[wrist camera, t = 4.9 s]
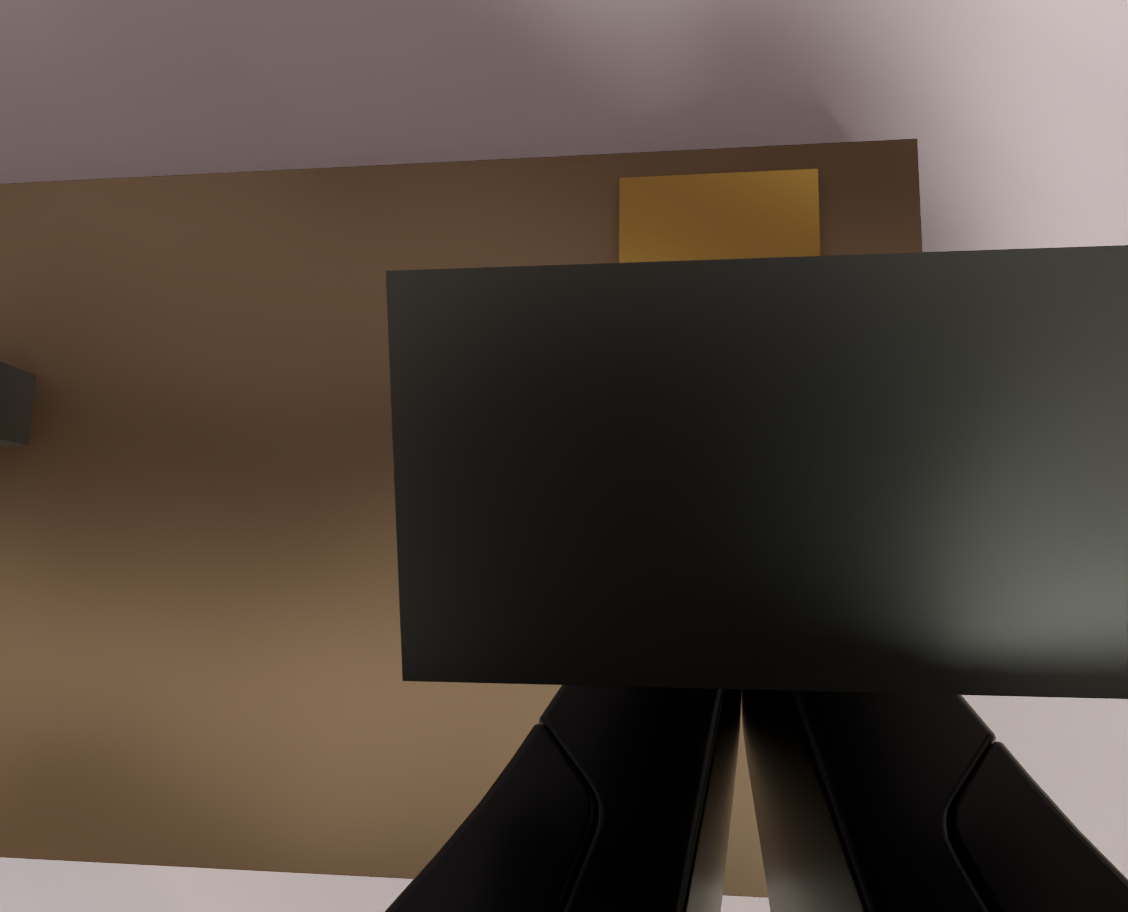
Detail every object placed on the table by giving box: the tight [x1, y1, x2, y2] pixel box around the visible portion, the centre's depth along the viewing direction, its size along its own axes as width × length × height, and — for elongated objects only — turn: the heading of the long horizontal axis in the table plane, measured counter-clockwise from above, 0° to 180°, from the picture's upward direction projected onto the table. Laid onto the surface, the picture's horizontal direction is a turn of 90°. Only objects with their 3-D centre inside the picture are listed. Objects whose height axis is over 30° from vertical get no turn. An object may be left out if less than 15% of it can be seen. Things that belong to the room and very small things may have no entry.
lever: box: [386, 245, 1128, 699], centre depth 9 cm, size 2×3×9 cm, turn 89°
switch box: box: [0, 139, 922, 898], centre depth 16 cm, size 11×20×4 cm, turn 89°
